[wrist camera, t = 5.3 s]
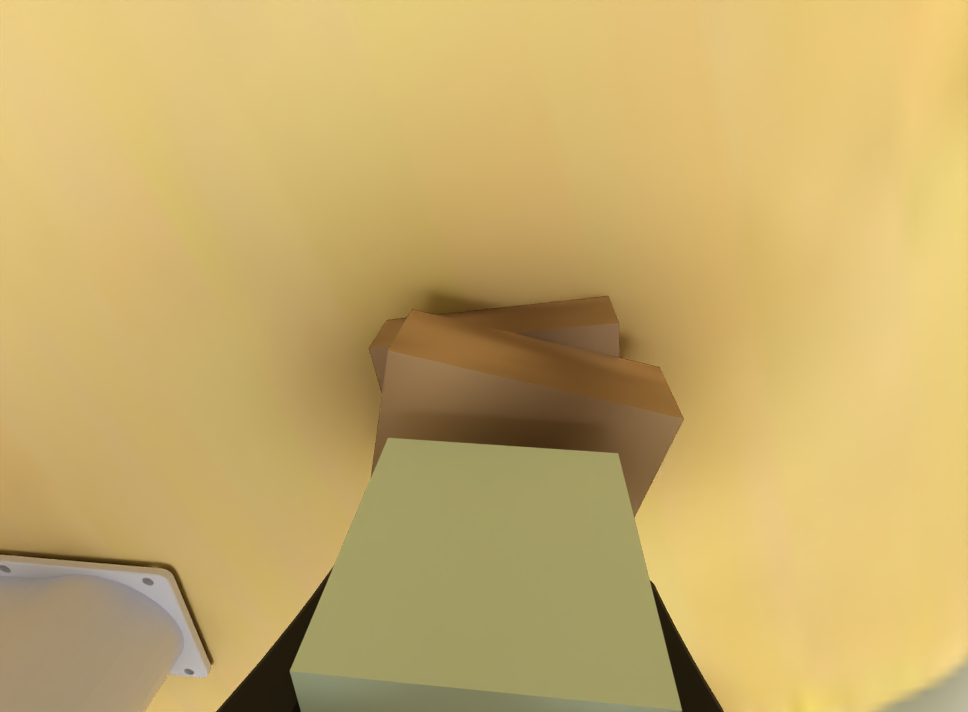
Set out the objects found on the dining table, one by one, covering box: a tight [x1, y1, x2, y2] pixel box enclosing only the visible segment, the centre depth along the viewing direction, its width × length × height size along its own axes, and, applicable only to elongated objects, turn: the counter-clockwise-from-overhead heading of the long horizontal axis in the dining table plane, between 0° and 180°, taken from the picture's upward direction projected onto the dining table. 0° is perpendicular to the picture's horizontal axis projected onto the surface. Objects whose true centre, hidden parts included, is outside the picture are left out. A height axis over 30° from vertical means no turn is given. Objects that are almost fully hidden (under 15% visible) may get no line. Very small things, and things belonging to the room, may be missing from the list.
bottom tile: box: [369, 296, 620, 392], centre depth 16 cm, size 7×7×2 cm
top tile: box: [371, 309, 684, 517], centre depth 14 cm, size 7×7×2 cm
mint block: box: [290, 438, 682, 712], centre depth 10 cm, size 5×5×5 cm
